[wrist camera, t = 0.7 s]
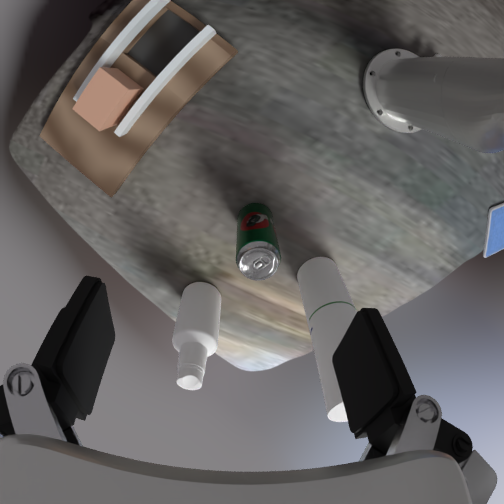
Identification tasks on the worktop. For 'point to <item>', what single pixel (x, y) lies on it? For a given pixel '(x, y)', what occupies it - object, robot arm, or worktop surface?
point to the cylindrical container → (326, 323)
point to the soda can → (257, 242)
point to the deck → (143, 73)
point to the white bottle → (196, 332)
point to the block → (107, 98)
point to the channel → (163, 78)
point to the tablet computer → (494, 231)
